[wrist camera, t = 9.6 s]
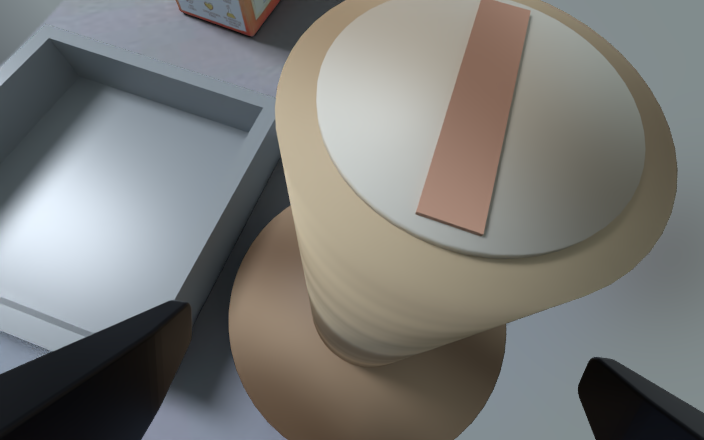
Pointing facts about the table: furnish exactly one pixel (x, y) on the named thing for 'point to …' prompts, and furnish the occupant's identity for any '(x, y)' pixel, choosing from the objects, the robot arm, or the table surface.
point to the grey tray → (118, 184)
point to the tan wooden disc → (343, 362)
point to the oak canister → (463, 168)
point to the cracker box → (231, 12)
